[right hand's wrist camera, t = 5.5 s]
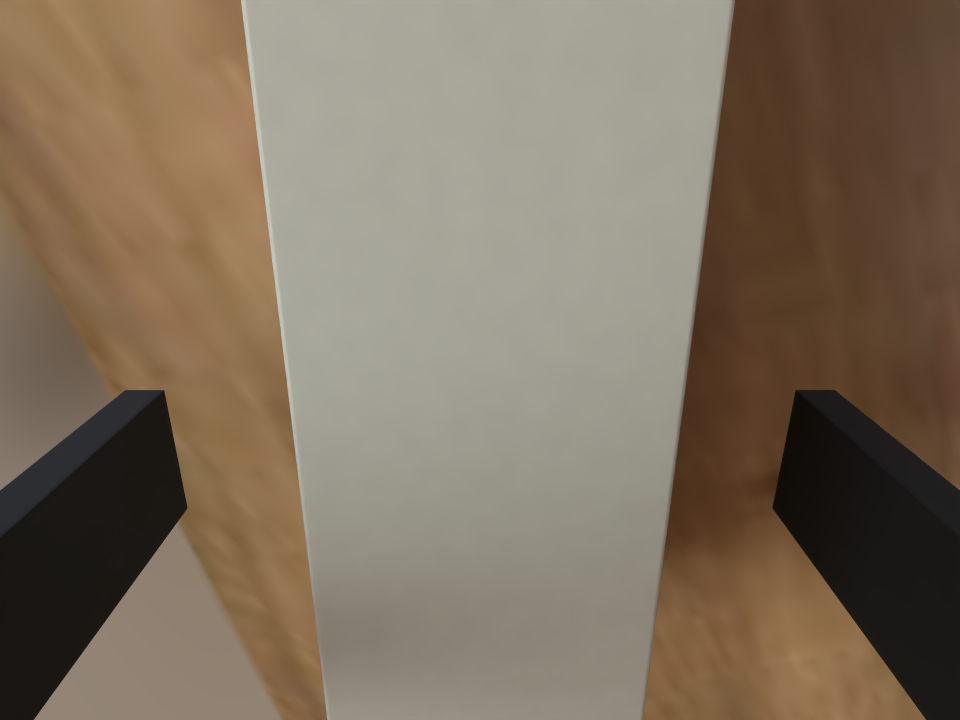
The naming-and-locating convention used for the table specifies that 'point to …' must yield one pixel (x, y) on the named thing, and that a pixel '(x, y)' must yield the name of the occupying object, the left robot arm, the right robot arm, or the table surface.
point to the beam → (486, 333)
